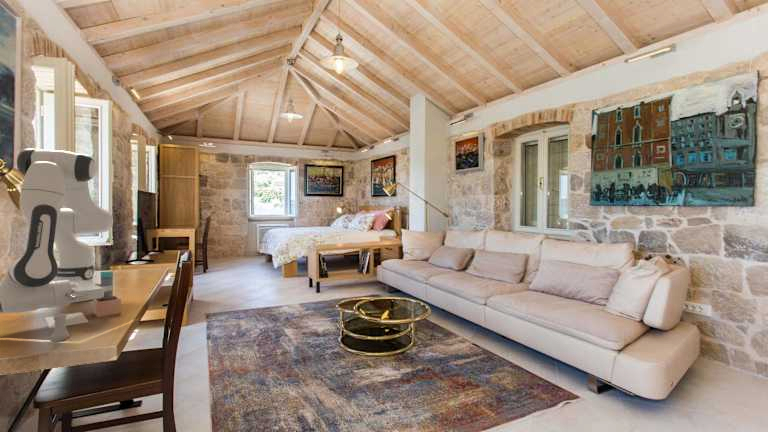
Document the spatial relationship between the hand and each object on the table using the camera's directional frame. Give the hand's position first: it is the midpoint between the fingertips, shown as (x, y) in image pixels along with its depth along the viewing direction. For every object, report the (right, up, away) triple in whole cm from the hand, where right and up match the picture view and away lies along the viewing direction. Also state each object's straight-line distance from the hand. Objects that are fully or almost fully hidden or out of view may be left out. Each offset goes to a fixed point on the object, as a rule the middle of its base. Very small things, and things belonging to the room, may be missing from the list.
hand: (109, 286), depth 139 cm
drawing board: (-9, -11, -9) cm, 17 cm away
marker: (-1, -8, -1) cm, 8 cm away
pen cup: (-1, -10, 0) cm, 10 cm away
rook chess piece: (+4, -11, -26) cm, 29 cm away
